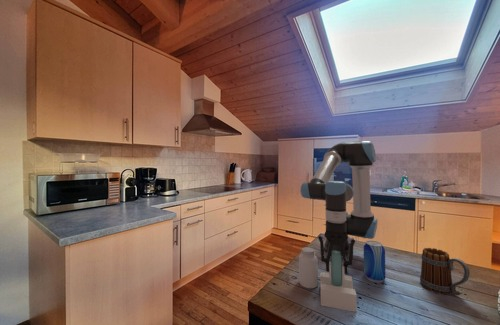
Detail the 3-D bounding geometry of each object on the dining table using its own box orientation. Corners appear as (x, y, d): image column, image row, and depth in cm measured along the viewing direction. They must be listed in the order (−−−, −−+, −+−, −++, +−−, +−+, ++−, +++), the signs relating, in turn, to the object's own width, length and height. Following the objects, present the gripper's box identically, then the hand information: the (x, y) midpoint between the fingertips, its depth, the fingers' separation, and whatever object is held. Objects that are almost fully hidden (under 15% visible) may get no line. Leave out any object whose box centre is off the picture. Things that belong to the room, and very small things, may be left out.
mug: (414, 283, 91) (413, 248, 91) (429, 278, 95) (428, 245, 95) (461, 305, 76) (460, 264, 76) (476, 298, 80) (475, 259, 80)
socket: (320, 285, 90) (320, 271, 90) (351, 291, 86) (351, 276, 86) (320, 305, 77) (320, 288, 77) (356, 312, 74) (356, 295, 74)
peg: (330, 279, 84) (330, 250, 84) (341, 281, 83) (341, 251, 83) (331, 285, 80) (331, 254, 80) (342, 287, 79) (342, 255, 79)
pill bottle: (303, 290, 87) (303, 253, 87) (296, 279, 95) (296, 246, 95) (321, 288, 88) (321, 252, 88) (312, 277, 96) (312, 245, 96)
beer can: (388, 284, 90) (388, 247, 90) (367, 282, 92) (367, 246, 92) (380, 274, 98) (380, 240, 98) (361, 272, 100) (361, 239, 100)
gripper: (312, 221, 81) (313, 282, 81) (361, 225, 76) (362, 290, 75) (313, 216, 88) (314, 272, 88) (358, 219, 83) (359, 279, 82)
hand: (336, 280), depth 82 cm, fingers closed on peg, 4 cm apart
